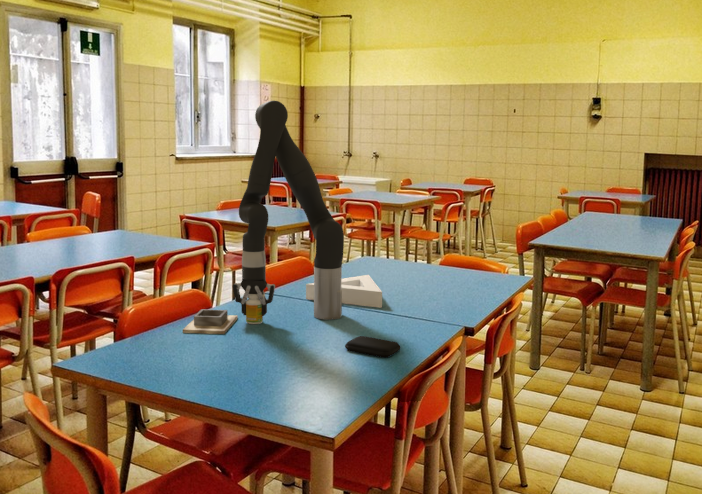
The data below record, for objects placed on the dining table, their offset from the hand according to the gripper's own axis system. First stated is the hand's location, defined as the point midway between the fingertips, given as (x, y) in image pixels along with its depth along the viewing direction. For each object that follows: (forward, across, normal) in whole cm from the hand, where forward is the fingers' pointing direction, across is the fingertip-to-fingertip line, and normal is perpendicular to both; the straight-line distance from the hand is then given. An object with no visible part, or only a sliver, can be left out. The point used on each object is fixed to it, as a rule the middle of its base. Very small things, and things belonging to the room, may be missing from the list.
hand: (254, 314), depth 226 cm
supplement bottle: (+3, 0, 0) cm, 3 cm away
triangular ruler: (+3, -31, -41) cm, 51 cm away
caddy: (+2, +13, +5) cm, 14 cm away
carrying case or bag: (+3, -40, +24) cm, 47 cm away
